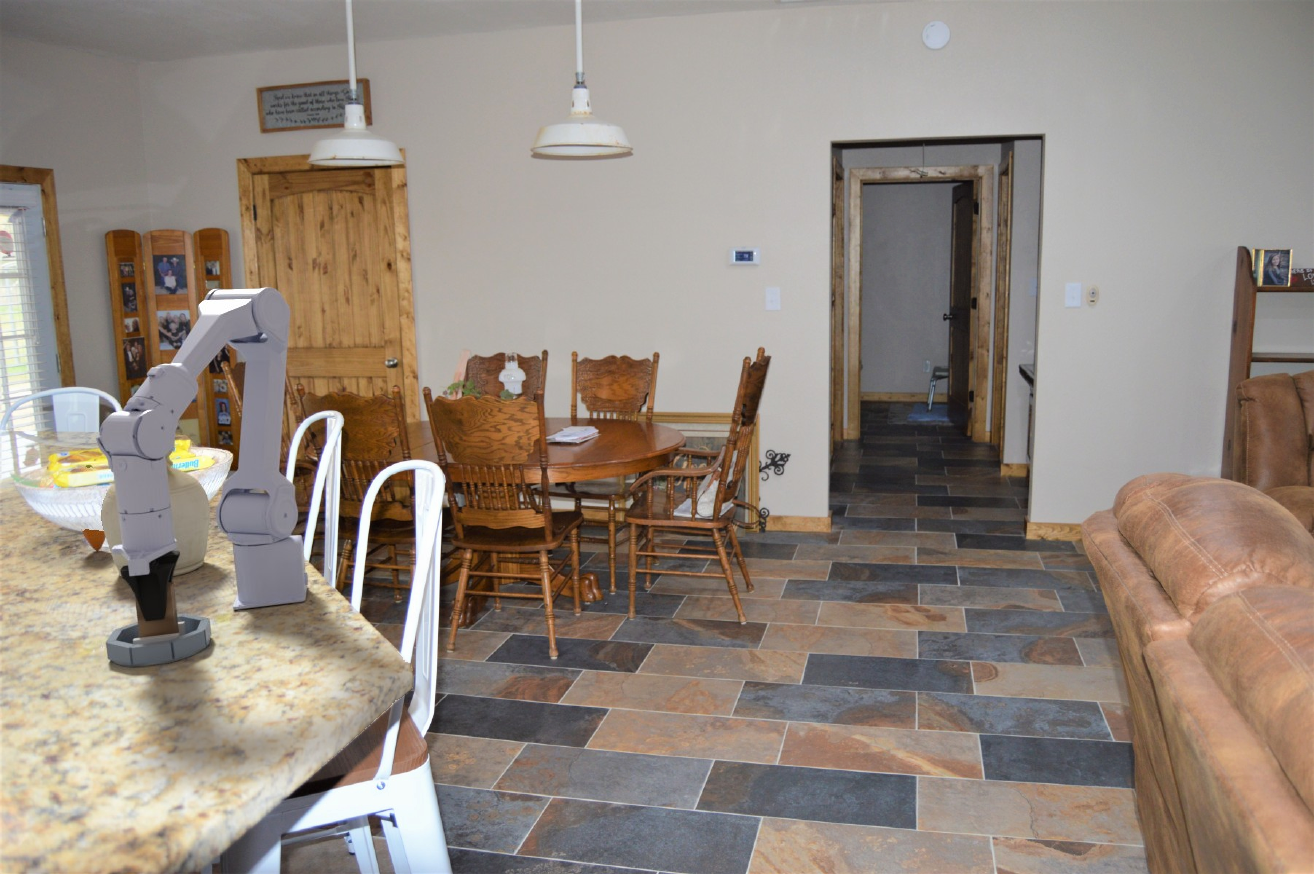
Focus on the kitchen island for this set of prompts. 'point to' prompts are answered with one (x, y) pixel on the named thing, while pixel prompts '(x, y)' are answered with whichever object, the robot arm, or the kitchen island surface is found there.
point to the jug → (186, 516)
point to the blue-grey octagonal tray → (159, 643)
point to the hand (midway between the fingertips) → (157, 615)
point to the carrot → (94, 535)
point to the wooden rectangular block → (160, 626)
